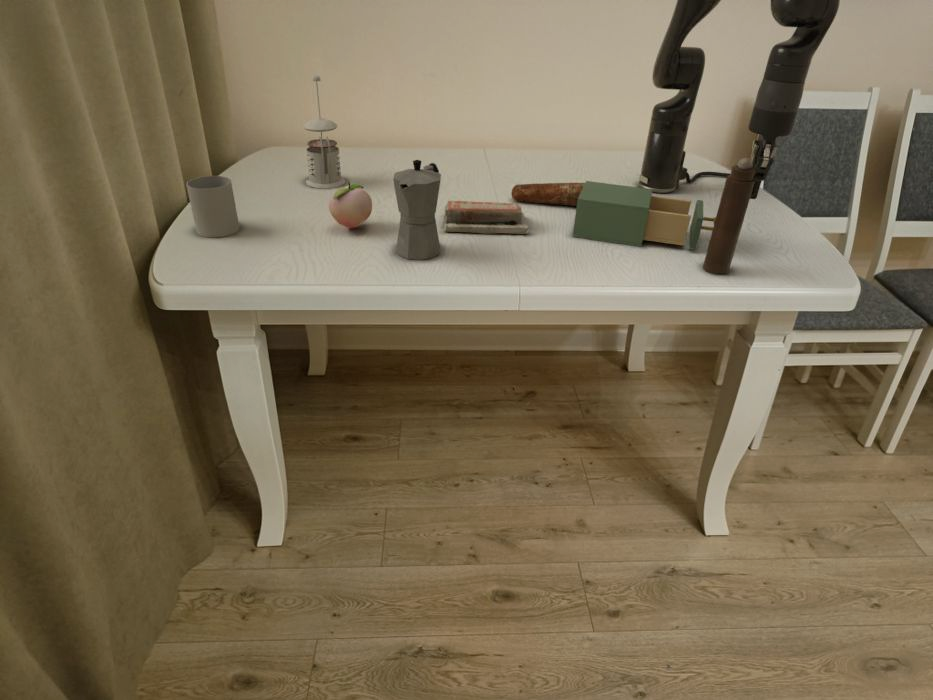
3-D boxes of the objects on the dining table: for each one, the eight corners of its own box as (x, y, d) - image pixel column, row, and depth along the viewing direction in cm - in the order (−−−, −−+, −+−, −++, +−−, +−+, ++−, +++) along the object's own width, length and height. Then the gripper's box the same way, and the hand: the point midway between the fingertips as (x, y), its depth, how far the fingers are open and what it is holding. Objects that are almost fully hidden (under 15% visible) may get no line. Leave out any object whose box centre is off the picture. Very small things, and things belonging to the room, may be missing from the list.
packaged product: (443, 211, 129) (444, 195, 137) (443, 233, 132) (444, 216, 140) (530, 213, 129) (525, 197, 138) (528, 235, 132) (524, 218, 140)
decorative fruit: (360, 239, 127) (357, 192, 122) (325, 233, 130) (320, 186, 124) (381, 224, 135) (379, 178, 129) (347, 218, 137) (344, 173, 131)
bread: (590, 210, 146) (593, 187, 143) (509, 203, 148) (511, 180, 145) (590, 201, 151) (593, 179, 148) (512, 194, 153) (514, 172, 150)
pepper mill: (715, 262, 124) (745, 152, 112) (733, 272, 120) (767, 160, 108) (697, 266, 122) (726, 155, 110) (715, 276, 118) (747, 162, 106)
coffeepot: (425, 268, 117) (425, 173, 107) (381, 259, 120) (377, 166, 110) (456, 238, 129) (458, 151, 119) (415, 231, 132) (414, 145, 122)
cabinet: (645, 225, 139) (652, 189, 134) (641, 246, 129) (649, 208, 125) (581, 216, 142) (586, 180, 138) (572, 236, 132) (577, 198, 128)
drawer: (715, 232, 135) (723, 203, 131) (717, 252, 126) (725, 221, 122) (633, 221, 139) (638, 192, 135) (629, 240, 130) (634, 209, 126)
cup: (199, 239, 125) (189, 191, 119) (194, 225, 131) (183, 178, 125) (243, 233, 128) (234, 185, 122) (235, 219, 134) (227, 173, 129)
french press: (342, 174, 162) (334, 71, 148) (349, 189, 153) (341, 80, 139) (303, 177, 159) (292, 72, 146) (309, 191, 150) (297, 81, 137)
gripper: (803, 115, 108) (773, 211, 117) (793, 101, 119) (766, 190, 128) (757, 111, 110) (731, 205, 119) (751, 97, 120) (728, 185, 130)
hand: (749, 197), depth 124 cm, fingers closed
